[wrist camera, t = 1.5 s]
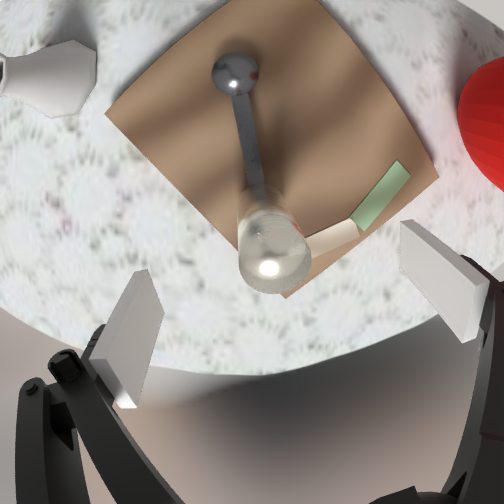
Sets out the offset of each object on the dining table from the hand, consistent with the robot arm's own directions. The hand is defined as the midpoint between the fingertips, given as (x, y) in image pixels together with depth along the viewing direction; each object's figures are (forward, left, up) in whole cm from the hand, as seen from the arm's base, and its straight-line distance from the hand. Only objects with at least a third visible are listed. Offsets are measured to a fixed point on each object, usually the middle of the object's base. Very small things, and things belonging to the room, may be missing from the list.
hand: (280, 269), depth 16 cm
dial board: (-3, +5, -12) cm, 13 cm away
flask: (-20, -5, -12) cm, 24 cm away
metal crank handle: (-3, +2, -10) cm, 11 cm away
